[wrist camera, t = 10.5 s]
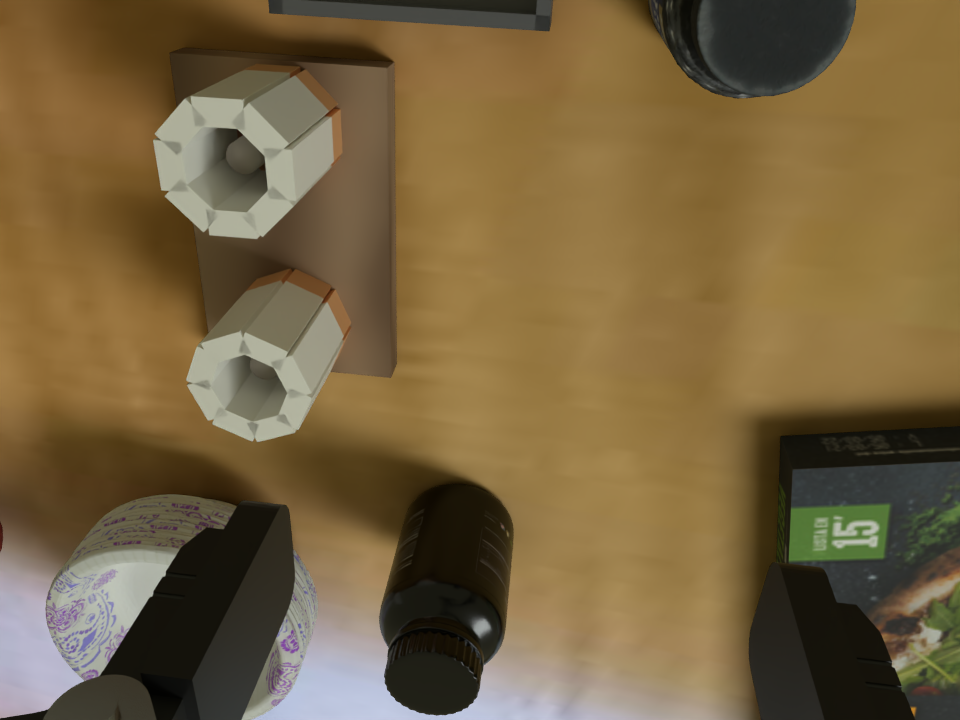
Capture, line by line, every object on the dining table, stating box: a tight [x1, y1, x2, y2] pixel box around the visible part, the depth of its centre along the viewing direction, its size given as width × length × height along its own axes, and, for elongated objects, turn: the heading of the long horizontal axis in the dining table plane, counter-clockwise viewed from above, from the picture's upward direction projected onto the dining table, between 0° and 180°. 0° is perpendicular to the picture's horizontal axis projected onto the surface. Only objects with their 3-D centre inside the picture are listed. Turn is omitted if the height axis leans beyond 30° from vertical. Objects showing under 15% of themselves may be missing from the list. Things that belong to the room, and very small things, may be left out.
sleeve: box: [153, 64, 343, 239], centre depth 34 cm, size 6×6×7 cm
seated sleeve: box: [186, 268, 351, 442], centre depth 39 cm, size 6×6×7 cm
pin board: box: [169, 48, 397, 380], centre depth 38 cm, size 10×16×6 cm, turn 177°
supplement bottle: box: [379, 484, 514, 716], centre depth 45 cm, size 7×7×12 cm
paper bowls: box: [46, 494, 318, 720], centre depth 50 cm, size 15×15×8 cm
